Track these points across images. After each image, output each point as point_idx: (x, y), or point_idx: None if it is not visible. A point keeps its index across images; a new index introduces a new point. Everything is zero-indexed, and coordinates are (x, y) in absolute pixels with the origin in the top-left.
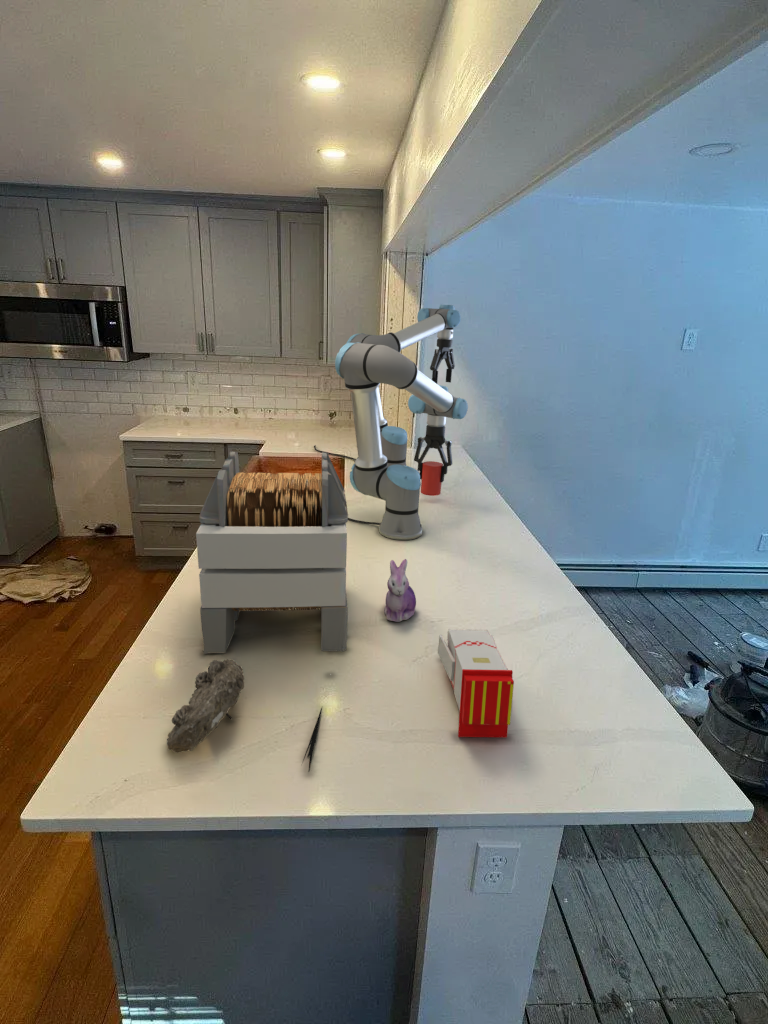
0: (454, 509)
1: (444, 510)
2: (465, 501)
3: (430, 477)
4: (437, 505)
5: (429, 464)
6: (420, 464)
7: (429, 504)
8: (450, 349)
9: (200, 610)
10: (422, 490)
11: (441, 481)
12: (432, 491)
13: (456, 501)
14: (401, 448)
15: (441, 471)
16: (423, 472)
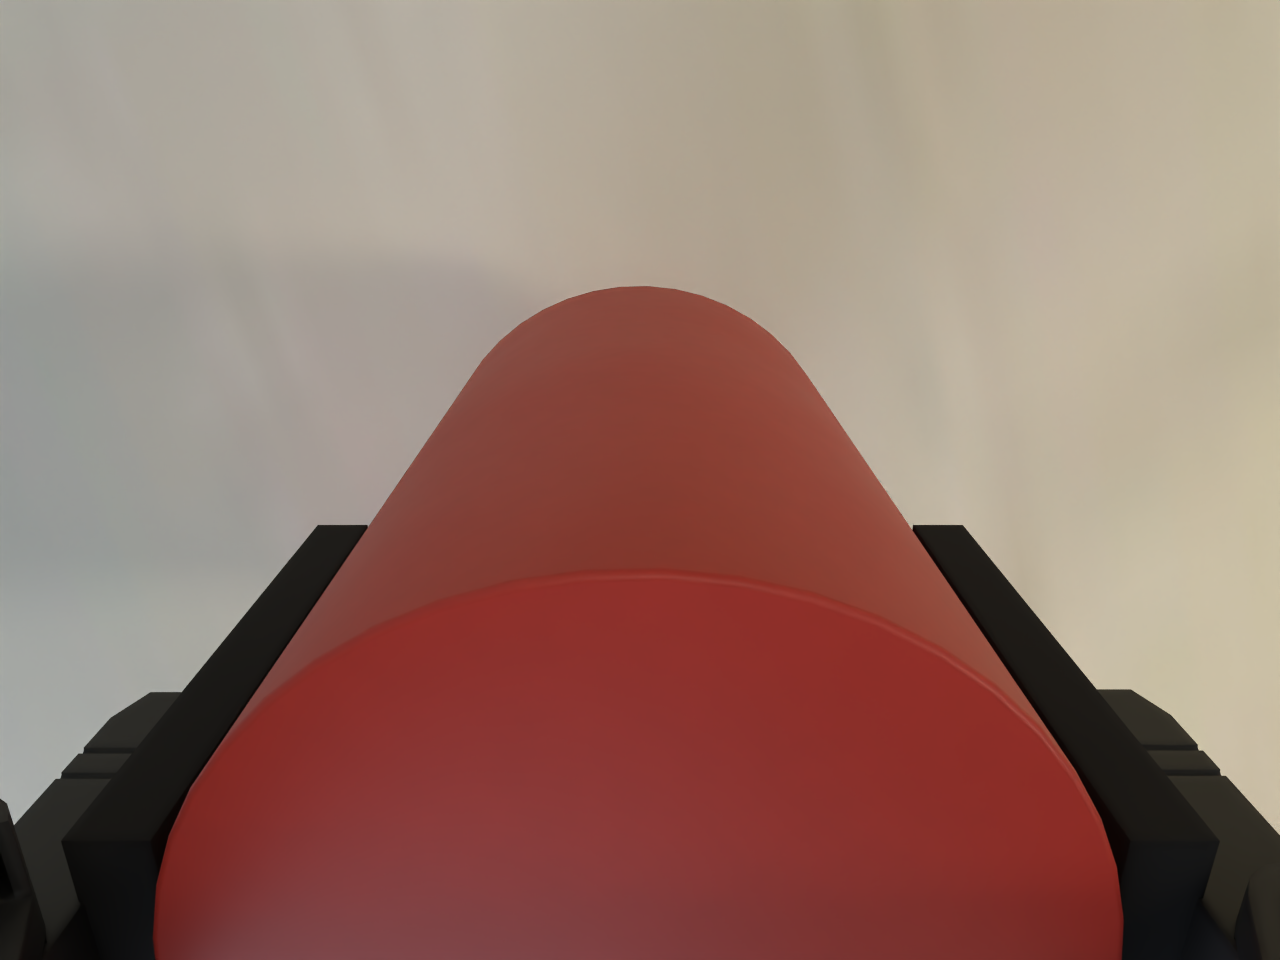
0: (121, 194)
1: (247, 48)
2: (143, 653)
3: (596, 395)
4: (453, 265)
5: (754, 827)
6: (1192, 821)
7: (593, 252)
8: None
9: None
10: (781, 349)
11: (331, 537)
12: (542, 323)
13: (258, 595)
14: None
15: (236, 702)
16: (902, 528)
